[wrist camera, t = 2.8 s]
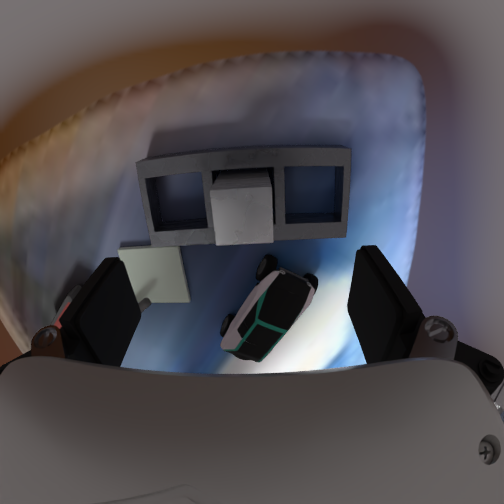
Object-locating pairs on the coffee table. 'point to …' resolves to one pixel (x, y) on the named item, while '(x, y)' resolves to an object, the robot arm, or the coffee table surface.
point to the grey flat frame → (246, 158)
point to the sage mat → (156, 273)
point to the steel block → (242, 207)
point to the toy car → (267, 311)
